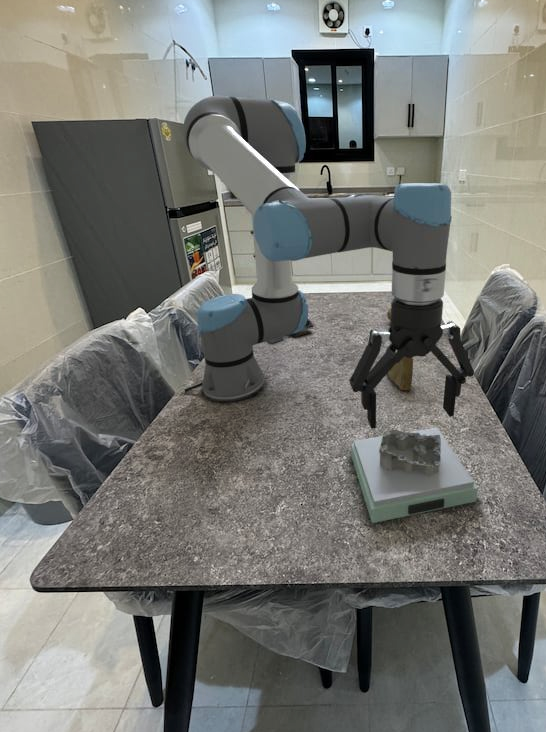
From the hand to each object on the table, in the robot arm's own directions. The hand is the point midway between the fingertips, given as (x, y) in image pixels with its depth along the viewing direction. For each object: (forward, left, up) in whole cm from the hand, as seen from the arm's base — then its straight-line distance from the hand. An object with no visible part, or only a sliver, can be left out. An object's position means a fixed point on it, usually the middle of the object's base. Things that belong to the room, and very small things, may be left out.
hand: (410, 417), depth 64 cm
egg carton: (0, 0, -9) cm, 9 cm away
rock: (+9, +33, -13) cm, 36 cm away
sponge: (+24, +66, -13) cm, 71 cm away
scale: (0, 0, -13) cm, 13 cm away
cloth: (-18, +76, -13) cm, 79 cm away
